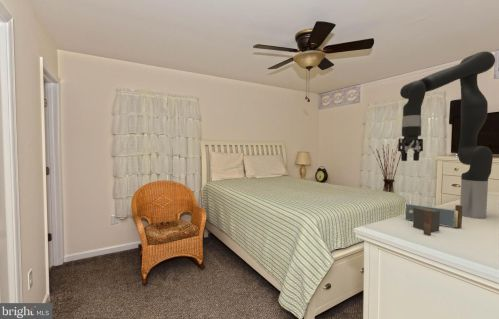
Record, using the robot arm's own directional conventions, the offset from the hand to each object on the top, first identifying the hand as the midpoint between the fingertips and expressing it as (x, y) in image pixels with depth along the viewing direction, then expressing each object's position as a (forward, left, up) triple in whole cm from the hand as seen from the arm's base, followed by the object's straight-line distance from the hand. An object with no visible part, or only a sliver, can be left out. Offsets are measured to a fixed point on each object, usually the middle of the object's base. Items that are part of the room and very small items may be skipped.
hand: (410, 160), depth 113 cm
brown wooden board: (+8, +19, -26) cm, 33 cm away
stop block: (+12, +15, -26) cm, 32 cm away
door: (+4, +12, -25) cm, 28 cm away
